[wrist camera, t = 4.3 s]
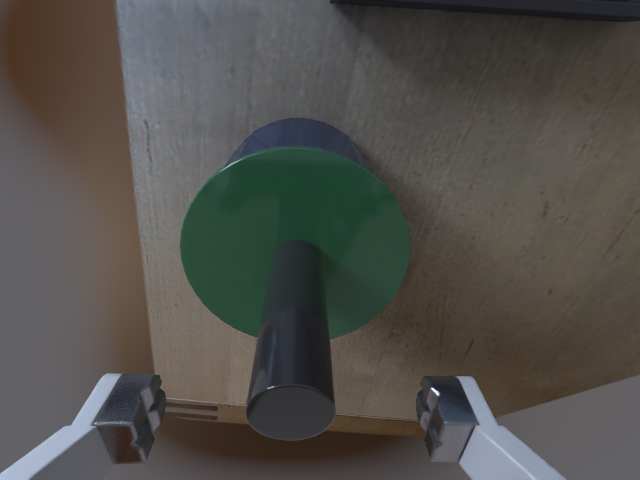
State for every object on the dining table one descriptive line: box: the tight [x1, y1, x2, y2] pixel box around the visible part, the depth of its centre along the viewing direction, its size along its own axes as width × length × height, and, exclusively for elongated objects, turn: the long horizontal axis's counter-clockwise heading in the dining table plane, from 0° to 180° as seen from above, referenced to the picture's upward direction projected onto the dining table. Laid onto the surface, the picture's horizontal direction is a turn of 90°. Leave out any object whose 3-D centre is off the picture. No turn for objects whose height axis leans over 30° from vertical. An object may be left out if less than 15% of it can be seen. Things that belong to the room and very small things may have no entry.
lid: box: [180, 146, 410, 440], centre depth 14 cm, size 11×11×9 cm
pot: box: [225, 118, 375, 174], centre depth 21 cm, size 10×10×8 cm
